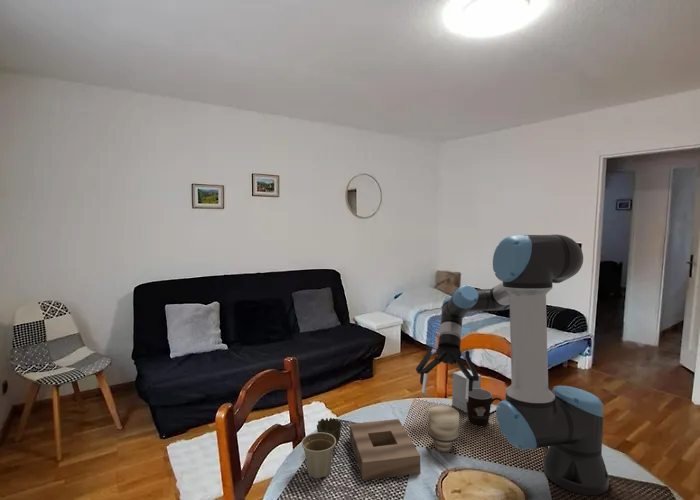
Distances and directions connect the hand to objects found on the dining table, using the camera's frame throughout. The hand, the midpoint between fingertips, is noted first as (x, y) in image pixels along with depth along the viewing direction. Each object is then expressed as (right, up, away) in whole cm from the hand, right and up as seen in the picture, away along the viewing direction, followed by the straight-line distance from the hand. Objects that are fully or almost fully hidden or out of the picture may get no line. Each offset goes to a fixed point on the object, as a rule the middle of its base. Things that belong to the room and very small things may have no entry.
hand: (444, 397), depth 124 cm
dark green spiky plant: (-37, -13, -7) cm, 39 cm away
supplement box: (+13, -11, +19) cm, 25 cm away
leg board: (-21, -13, -10) cm, 27 cm away
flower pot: (-39, -14, -17) cm, 45 cm away
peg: (-2, -13, -7) cm, 15 cm away
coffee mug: (+15, -12, +7) cm, 20 cm away
